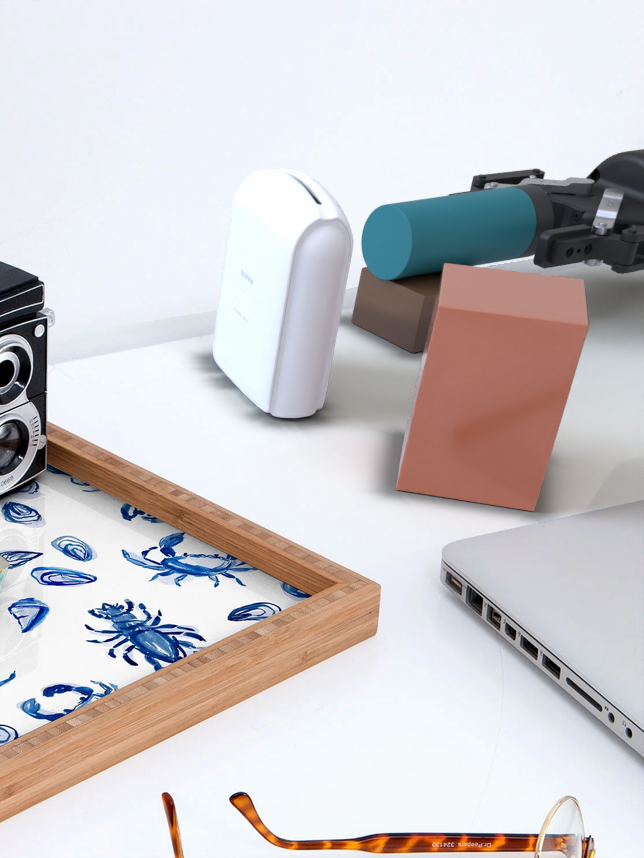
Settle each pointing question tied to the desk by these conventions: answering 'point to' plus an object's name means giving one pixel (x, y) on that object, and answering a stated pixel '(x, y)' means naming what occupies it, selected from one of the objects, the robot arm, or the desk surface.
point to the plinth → (493, 385)
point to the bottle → (455, 231)
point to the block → (397, 307)
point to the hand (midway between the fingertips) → (491, 231)
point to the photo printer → (282, 291)
